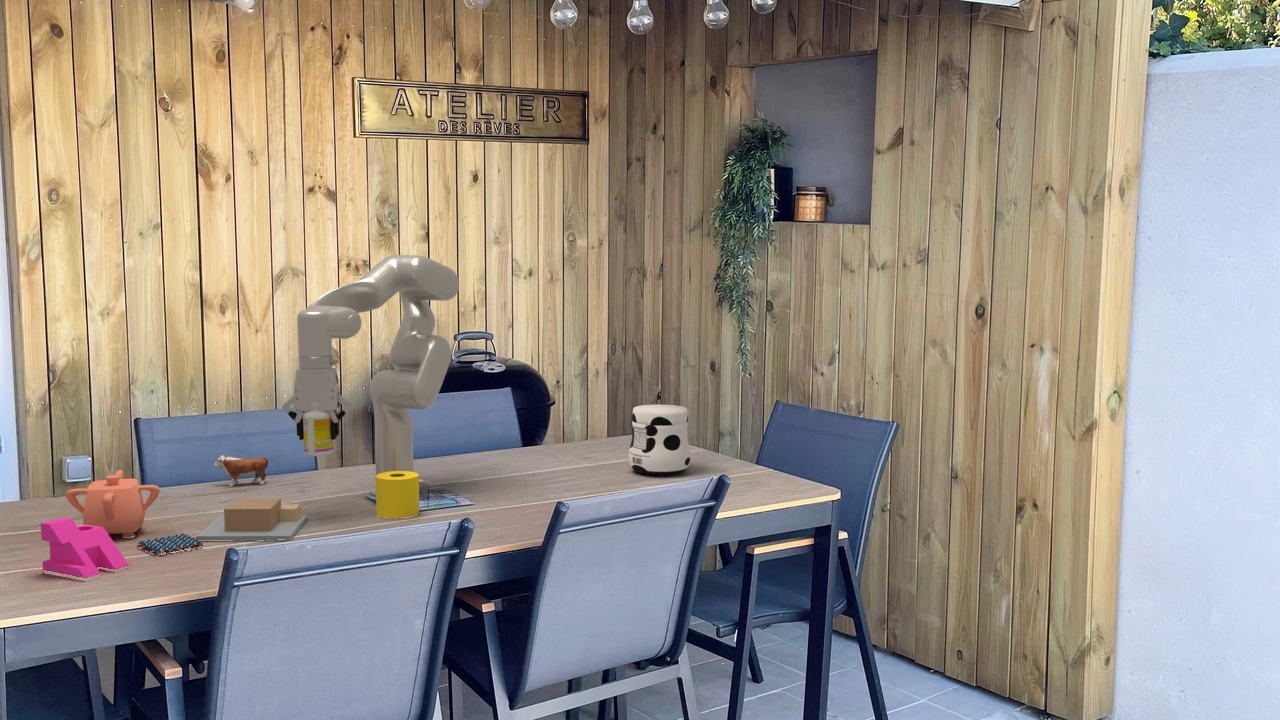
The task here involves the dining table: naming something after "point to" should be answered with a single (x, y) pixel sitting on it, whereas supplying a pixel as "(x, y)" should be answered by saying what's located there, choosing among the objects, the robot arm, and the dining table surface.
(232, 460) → the bull figurine
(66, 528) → the bracket
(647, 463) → the milk container
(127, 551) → the dining table surface
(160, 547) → the woven mat
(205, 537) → the board
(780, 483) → the dining table surface
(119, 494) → the teapot
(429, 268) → the robot arm
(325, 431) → the supplement bottle
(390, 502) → the yellow toilet paper roll
